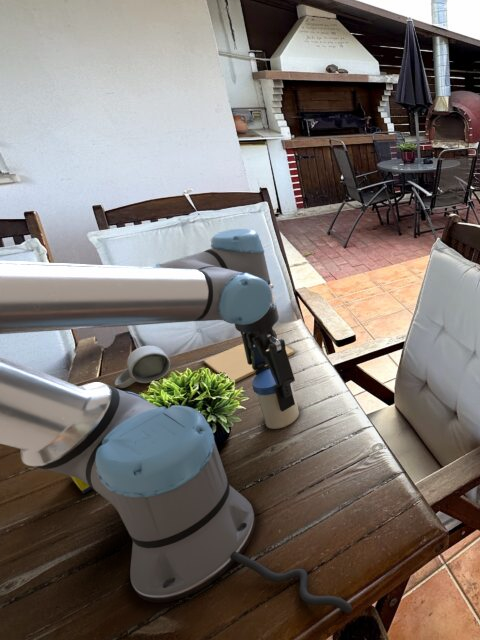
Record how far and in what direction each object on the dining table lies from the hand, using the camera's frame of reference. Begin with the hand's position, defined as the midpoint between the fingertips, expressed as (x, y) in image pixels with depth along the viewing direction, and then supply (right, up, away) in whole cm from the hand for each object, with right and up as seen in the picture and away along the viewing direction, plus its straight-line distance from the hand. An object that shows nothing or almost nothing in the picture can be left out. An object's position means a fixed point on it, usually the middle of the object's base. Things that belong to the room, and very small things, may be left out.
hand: (278, 400), depth 87 cm
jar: (0, -5, +2) cm, 5 cm away
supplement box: (-27, -10, -12) cm, 31 cm away
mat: (-21, +3, +23) cm, 31 cm away
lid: (0, +5, -2) cm, 6 cm away
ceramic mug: (-42, 0, +15) cm, 45 cm away
